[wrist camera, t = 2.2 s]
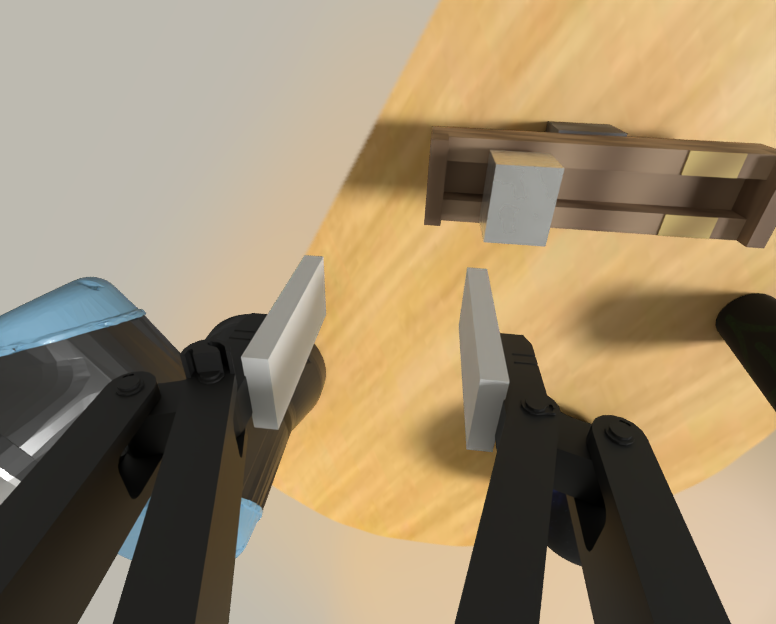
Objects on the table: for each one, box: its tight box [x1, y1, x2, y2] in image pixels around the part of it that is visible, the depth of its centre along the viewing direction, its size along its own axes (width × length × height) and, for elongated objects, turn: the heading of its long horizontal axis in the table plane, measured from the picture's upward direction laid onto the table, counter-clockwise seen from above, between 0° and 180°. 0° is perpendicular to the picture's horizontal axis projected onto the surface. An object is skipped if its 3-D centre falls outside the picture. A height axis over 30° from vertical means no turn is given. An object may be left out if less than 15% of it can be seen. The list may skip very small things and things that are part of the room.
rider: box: [479, 150, 565, 246], centre depth 30 cm, size 4×5×7 cm
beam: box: [424, 121, 776, 248], centre depth 34 cm, size 24×6×9 cm, turn 88°
